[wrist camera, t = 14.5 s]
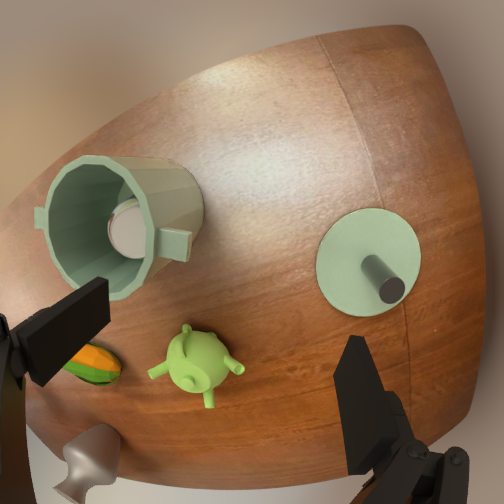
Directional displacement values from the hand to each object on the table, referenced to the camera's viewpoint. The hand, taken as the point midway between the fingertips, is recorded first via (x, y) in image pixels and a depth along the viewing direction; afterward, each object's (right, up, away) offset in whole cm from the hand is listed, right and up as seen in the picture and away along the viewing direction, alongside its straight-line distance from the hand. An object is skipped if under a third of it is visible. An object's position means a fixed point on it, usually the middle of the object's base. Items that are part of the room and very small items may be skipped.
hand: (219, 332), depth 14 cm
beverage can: (-11, +9, +22) cm, 26 cm away
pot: (-11, +10, +22) cm, 27 cm away
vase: (-35, -42, +40) cm, 68 cm away
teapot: (-6, -12, +28) cm, 31 cm away
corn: (-30, -15, +32) cm, 46 cm away
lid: (+17, +2, +20) cm, 27 cm away
